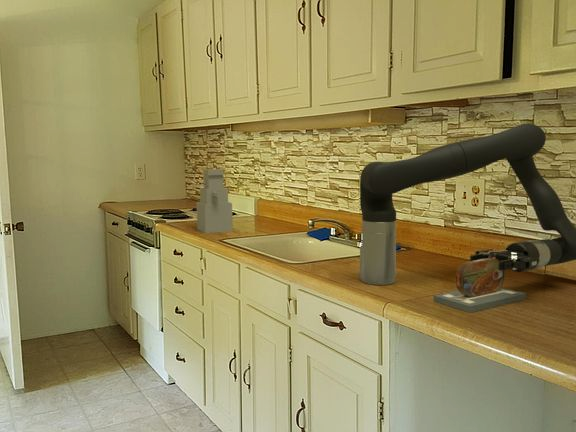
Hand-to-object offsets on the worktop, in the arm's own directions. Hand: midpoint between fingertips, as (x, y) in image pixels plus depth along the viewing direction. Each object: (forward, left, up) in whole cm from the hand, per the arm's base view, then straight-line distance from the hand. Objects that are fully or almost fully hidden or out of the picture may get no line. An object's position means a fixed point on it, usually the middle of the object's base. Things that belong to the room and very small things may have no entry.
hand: (485, 262), depth 132 cm
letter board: (0, -2, -9) cm, 9 cm away
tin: (0, -1, -8) cm, 8 cm away
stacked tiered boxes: (-145, -8, -9) cm, 145 cm away
